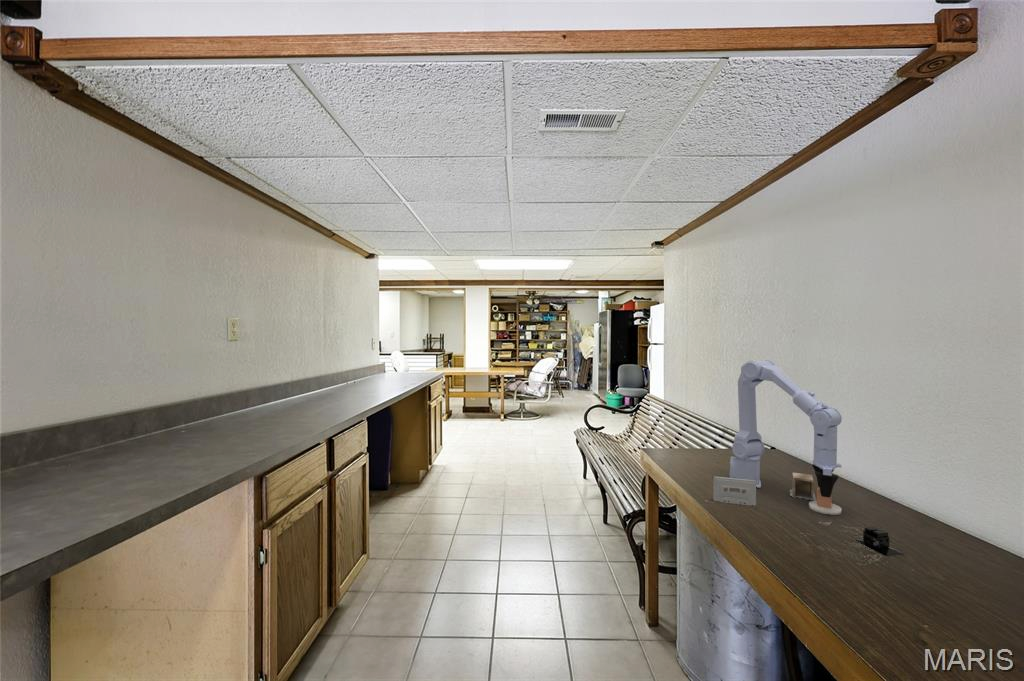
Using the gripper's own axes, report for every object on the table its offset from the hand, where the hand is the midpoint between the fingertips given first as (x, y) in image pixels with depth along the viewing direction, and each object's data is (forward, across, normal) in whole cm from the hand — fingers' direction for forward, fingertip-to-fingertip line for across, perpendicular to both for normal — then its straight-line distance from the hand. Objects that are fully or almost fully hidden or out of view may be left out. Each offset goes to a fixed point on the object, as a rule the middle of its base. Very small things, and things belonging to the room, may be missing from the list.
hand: (824, 492), depth 134 cm
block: (+4, -1, 0) cm, 4 cm away
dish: (+5, -1, 0) cm, 5 cm away
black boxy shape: (+5, -23, -9) cm, 25 cm away
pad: (+5, +10, +5) cm, 12 cm away
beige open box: (+5, +10, +5) cm, 12 cm away
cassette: (+5, -9, +24) cm, 26 cm away
